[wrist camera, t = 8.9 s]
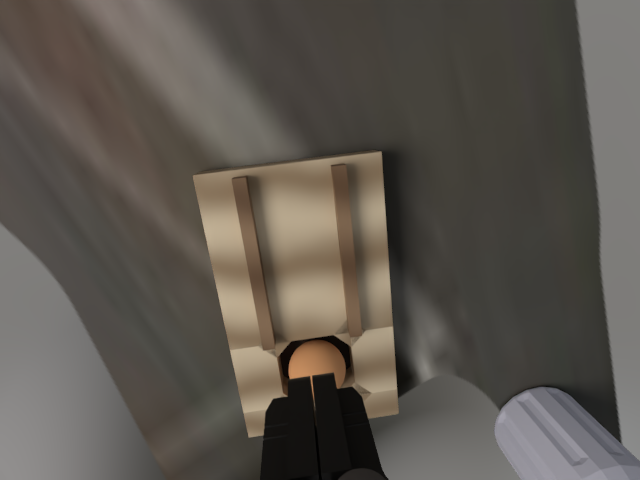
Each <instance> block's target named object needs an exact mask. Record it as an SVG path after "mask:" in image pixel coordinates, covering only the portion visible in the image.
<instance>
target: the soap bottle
mask: <svg viewBox="0 0 640 480" xmlns="http://www.w3.org/2000/svg"><path fill="white" fill-rule="evenodd" d="M494 433H495V437H496V440H497V444H498V446H499V447H500V449H501V450H502V452H503V453H504V455H505V456H506V458H507V459H508V461H509V462H510V464H511V465H512V467H513V468H514V470H515V471H516V473H517V474H518V476H519V477H520V479H521V480H640V461H639V460H638V459H637V458H635V456H634V455H632V454H631V453H630V452H629V451H628V450H627V449H626V448H625V447H624V446H623V445H622V444H621V443H620V442H619V441H618V440H617V439H615V438H614V437H613V436H612V435H611V434H610V433H609V432H608V431H607V430H606V429H605V428H604V427H603V426H602V425H601V424H600V423H598V422H597V421H596V420H595V419H594V418H593V417H592V416H591V415H590V414H589V413H588V412H587V411H586V410H585V409H584V408H583V407H582V406H580V405H579V404H578V403H577V402H576V401H575V400H574V399H573V398H572V397H571V396H570V395H569V394H567V393H565V392H563V391H561V390H559V389H557V388H551V387H537V388H533V389H528V390H525V391H523V392H522V393H520V394H518V395H516V396H514V397H513V398H512V399H511V400H509V401H508V402H507V403H506V404H505V405H504V406H503V407H502V409H501V411H500V413H499V414H498V416H497V418H496V421H495V429H494Z"/></svg>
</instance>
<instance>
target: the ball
mask: <svg viewBox="0 0 640 480" xmlns="http://www.w3.org/2000/svg"><path fill="white" fill-rule="evenodd" d="M332 372H334V376H335V381H336V387H337V389H339V388H340V387H341V386H342V384H343V381H344V378H345V373H346V366H345V361H344V358H343V356H342V354H341V352H340V351H339V350H338V349H337V348H336V347H335V346H334V345H333V344H331V343H329V342H327V341H324V340H311V341H307V342H305V343H303V344H302V345H300V346H299V347H298V348H297V349H296V350H295V352H294V353H293V355H292V357H291V359H290V362H289V377H290V379H293V378H300V377H306V376H310V378H311V385H312V392H313V382H312V375H319V374H325V373H332ZM313 399H314V393H313Z"/></svg>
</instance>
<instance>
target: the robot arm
mask: <svg viewBox="0 0 640 480" xmlns="http://www.w3.org/2000/svg"><path fill="white" fill-rule="evenodd" d="M312 382H313V392H312V385H311V378H310V376H306V377H300V378H293V379H288V396H287V397H281V398H274V399H273V400H272V401H271V403H270V405H269V407H268V408H267V410H266V412H265V424H264V427H265V429H264V437H263V438H264V441H263V450H262V463H261V475H260V480H388V478H387V477H386V476H385V474H384V472H383V470H382V467H381V464H380V461H379V457H378V453H377V449H376V446H375V442H374V438H373V435H372V431H371V428H370V424H369V420H368V417H367V413H366V409H365V406H364V402H363V398H362V396H361V395H360V394H359V393H358V392H357V391H356V390H355V389H354V388H353V386H352V387H345V388H339V389H337V387H336V381H335V376H334V372H332V373H325V374H319V375H312ZM313 393H314V399H313ZM314 403H315V406H314Z"/></svg>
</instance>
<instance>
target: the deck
mask: <svg viewBox="0 0 640 480" xmlns="http://www.w3.org/2000/svg"><path fill="white" fill-rule="evenodd" d="M193 179H194V184H195V189H196V193H197V198H198V203H199V207H200V212H201V217H202V221H203V226H204V231H205V235H206V240H207V245H208V249H209V254H210V259H211V263H212V268H213V273H214V277H215V282H216V287H217V291H218V296H219V301H220V305H221V310H222V314H223V319H224V324H225V328H226V333H227V338H228V342H229V347H230V352H231V356H232V361H233V366H234V370H235V375H236V380H237V384H238V389H239V394H240V398H241V403H242V408H243V412H244V417H245V422H246V426H247V431H248V436H249V437H255V436H261V435H264V429H265V427H264V424H265V412H266V410H267V408H268V407H269V405H270V403H271V401H272V400H273V399H274V398H281V397H287V396H288V378H286V377H285V376H283V370H282V365H281V359H280V354H281V353H282V351H283V350H284V349H285V348H286V347H287V345H288V344H289V343H290V342H291V341H297V340H303V339H310V338H317V337H324V336H331V335H334V336H336V337H337V338H339V339H340V340H342V341H343V342H345V343H346V344H348V345H349V354H350V363H351V366H350V367H349V368H348V369H347V370H346V373H345V378H344V381H343V384H342V386H341V387H340V388H345V387H352V386H353V388H354V389H355V390H356V391H357V392H358V393H359V394H360V395H361V396H362V398H363V402H364V406H365V409H366V413H367V417H368V419H369V418H375V417H381V416H387V415H394V414H398V413H399V411H398V395H397V380H396V365H395V349H394V334H393V319H392V304H391V288H390V273H389V258H388V243H387V227H386V212H385V197H384V182H383V166H382V152H381V151H376V150H370V151H362V152H354V153H346V154H338V155H330V156H322V157H314V158H306V159H298V160H290V161H282V162H274V163H266V164H258V165H250V166H242V167H234V168H226V169H218V170H210V171H202V172H199V173H197V174H194V175H193ZM314 406H315V403H314Z"/></svg>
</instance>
